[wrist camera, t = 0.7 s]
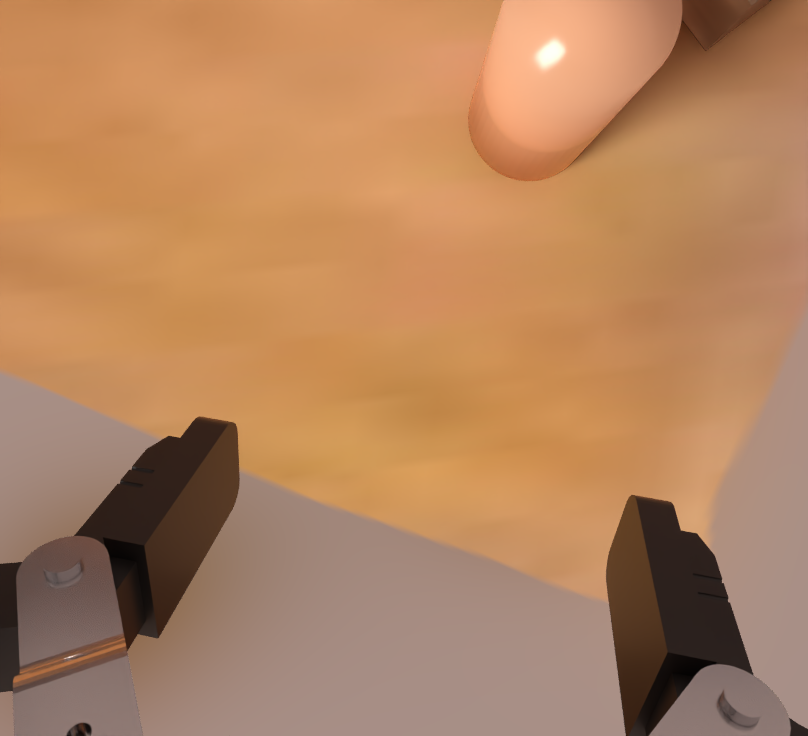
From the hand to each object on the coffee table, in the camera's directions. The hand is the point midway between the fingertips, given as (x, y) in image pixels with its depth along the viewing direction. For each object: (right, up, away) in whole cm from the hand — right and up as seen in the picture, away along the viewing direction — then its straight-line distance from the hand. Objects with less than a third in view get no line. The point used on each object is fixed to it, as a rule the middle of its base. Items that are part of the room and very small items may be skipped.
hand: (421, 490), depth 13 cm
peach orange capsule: (+6, +14, +18) cm, 24 cm away
